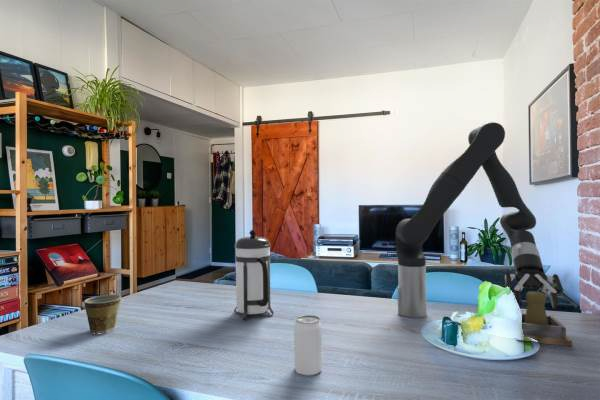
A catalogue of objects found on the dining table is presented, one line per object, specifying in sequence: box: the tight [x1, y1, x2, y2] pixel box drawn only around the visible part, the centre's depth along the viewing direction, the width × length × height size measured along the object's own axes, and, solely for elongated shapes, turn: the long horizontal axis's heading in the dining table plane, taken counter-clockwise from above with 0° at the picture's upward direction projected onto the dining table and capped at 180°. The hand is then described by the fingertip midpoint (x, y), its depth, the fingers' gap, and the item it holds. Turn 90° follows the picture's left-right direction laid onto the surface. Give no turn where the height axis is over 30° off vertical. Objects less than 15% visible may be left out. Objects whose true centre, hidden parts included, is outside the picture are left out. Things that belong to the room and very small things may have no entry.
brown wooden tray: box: [521, 312, 573, 347], centre depth 103 cm, size 13×13×4 cm
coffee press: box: [233, 229, 275, 321], centre depth 125 cm, size 17×16×30 cm
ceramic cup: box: [84, 294, 121, 335], centre depth 112 cm, size 13×10×10 cm
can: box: [293, 314, 323, 377], centre depth 83 cm, size 6×6×12 cm
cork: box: [524, 290, 548, 325], centre depth 103 cm, size 6×6×11 cm
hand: (537, 305), depth 102 cm, fingers open, 8 cm apart
